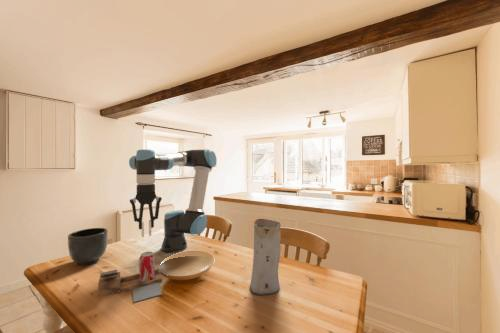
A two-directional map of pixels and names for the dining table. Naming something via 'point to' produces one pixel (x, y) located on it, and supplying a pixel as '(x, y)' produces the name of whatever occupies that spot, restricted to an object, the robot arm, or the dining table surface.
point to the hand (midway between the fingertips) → (146, 235)
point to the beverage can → (147, 266)
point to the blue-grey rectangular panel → (109, 273)
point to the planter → (87, 245)
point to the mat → (146, 292)
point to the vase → (266, 257)
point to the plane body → (113, 283)
